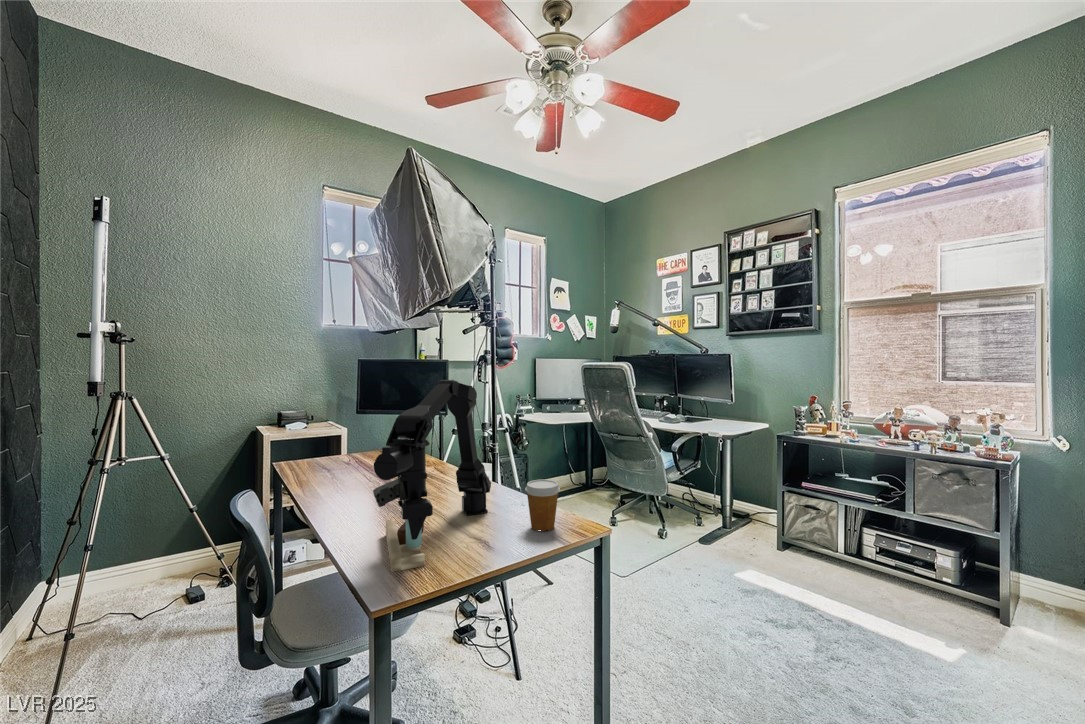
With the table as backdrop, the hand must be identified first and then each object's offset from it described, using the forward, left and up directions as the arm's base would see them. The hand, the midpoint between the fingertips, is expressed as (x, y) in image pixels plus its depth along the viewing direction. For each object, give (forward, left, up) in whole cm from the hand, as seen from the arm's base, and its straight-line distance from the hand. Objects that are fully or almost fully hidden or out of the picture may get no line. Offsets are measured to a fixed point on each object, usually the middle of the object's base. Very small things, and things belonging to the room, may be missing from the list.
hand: (413, 536), depth 101 cm
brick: (-1, -12, -6) cm, 14 cm away
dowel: (0, 0, -2) cm, 2 cm away
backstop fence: (+2, -7, -6) cm, 9 cm away
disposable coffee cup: (-35, -6, -6) cm, 36 cm away
